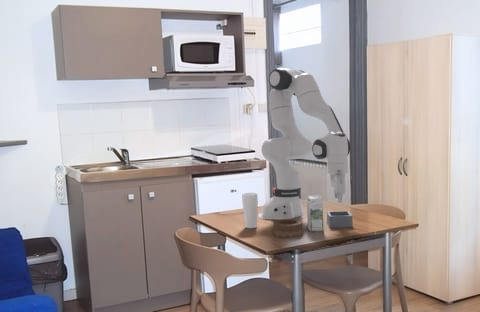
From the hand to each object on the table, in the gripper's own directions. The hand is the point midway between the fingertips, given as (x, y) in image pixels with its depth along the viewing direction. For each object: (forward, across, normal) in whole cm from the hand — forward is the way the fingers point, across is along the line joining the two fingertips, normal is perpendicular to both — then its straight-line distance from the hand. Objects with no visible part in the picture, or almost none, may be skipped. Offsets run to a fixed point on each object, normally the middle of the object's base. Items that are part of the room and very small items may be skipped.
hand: (338, 199), depth 222 cm
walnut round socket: (+11, -14, +23) cm, 29 cm away
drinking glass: (+12, -1, +39) cm, 40 cm away
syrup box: (+11, -8, +11) cm, 18 cm away
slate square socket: (+11, 0, 0) cm, 11 cm away
